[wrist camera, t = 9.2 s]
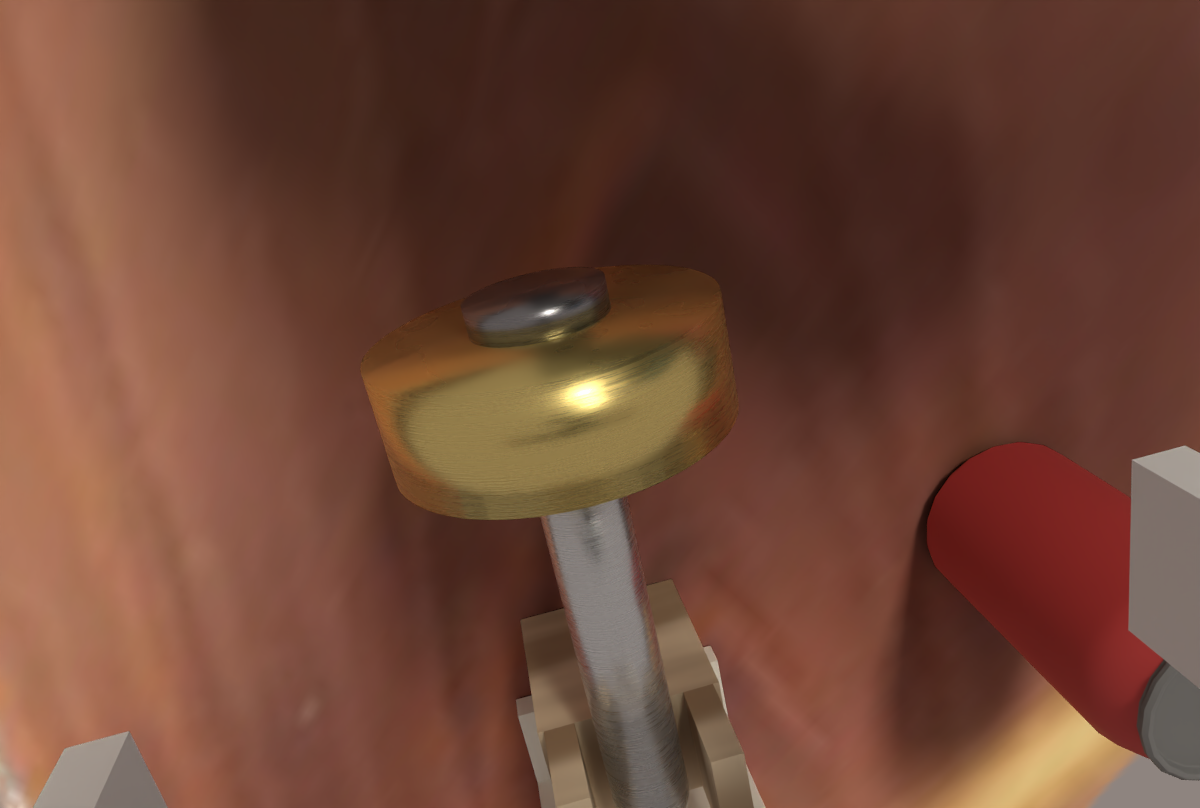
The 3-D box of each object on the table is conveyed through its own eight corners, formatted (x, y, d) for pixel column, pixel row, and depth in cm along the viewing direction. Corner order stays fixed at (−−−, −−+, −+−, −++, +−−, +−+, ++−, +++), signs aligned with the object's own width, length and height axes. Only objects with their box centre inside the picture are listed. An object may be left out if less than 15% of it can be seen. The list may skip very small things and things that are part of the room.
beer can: (959, 611, 38) (1172, 834, 27) (891, 500, 36) (1094, 695, 25) (1094, 523, 38) (1366, 712, 27) (1034, 403, 36) (1305, 558, 24)
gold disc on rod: (364, 290, 26) (330, 396, 18) (666, 218, 27) (769, 288, 19) (507, 758, 33) (532, 994, 25) (748, 690, 34) (852, 897, 25)
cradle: (520, 620, 35) (549, 809, 26) (671, 578, 36) (750, 751, 27) (543, 702, 37) (578, 908, 28) (688, 662, 37) (768, 851, 28)
